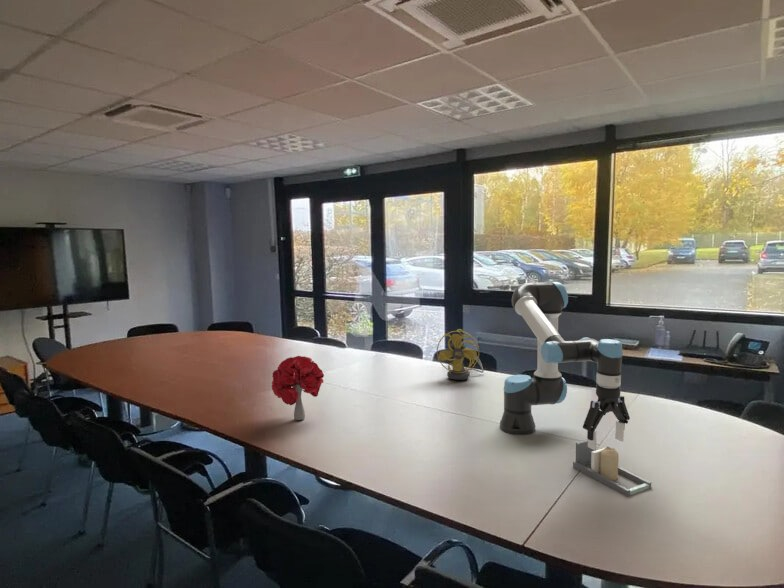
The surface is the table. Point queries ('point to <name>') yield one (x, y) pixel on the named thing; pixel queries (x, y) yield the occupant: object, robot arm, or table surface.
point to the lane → (585, 458)
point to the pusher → (596, 460)
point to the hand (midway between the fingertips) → (605, 444)
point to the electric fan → (459, 356)
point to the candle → (609, 463)
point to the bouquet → (297, 382)
